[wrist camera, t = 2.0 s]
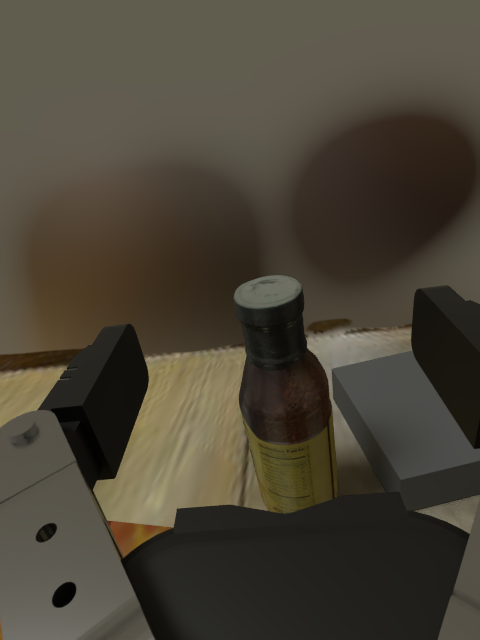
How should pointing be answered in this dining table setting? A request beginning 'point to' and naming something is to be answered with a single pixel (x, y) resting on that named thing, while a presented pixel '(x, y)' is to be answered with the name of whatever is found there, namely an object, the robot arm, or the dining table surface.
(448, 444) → the charcoal base
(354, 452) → the dining table surface
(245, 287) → the sauce bottle
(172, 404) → the dining table surface
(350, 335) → the dining table surface
